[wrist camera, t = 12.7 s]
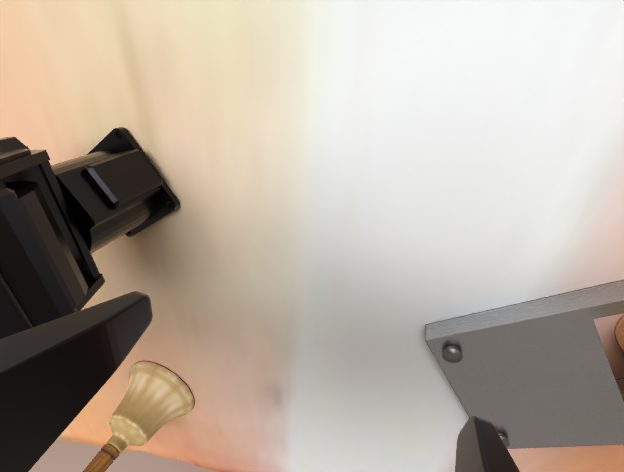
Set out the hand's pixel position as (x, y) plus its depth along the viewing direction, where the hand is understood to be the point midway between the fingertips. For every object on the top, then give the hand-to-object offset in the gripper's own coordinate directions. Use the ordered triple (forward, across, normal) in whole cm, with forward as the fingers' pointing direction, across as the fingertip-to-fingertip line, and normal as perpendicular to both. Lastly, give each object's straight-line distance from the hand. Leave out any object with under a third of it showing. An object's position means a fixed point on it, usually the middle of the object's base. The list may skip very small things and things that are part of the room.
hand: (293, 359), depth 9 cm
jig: (+13, -16, +7) cm, 22 cm away
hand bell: (+13, +17, +29) cm, 36 cm away
